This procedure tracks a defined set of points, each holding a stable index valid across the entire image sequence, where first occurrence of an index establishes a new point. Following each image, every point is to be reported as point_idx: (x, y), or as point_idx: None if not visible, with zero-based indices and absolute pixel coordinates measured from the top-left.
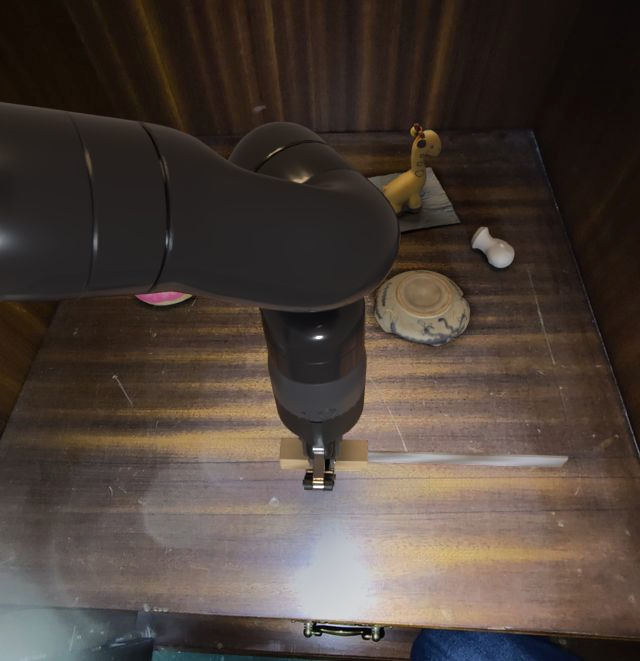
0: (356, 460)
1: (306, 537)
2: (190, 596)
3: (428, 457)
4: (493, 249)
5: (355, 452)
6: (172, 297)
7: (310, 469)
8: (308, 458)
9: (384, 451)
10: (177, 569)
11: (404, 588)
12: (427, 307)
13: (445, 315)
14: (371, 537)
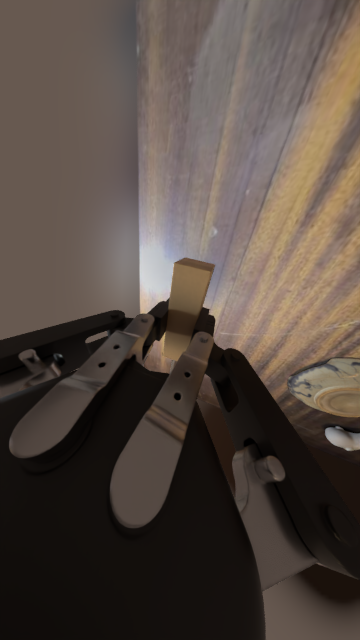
0: (164, 348)
1: (181, 257)
2: (146, 131)
3: None
4: (348, 443)
5: (173, 350)
6: None
7: (29, 364)
8: (144, 319)
9: (172, 368)
10: (169, 101)
11: (152, 307)
12: (330, 398)
13: (311, 399)
14: None
